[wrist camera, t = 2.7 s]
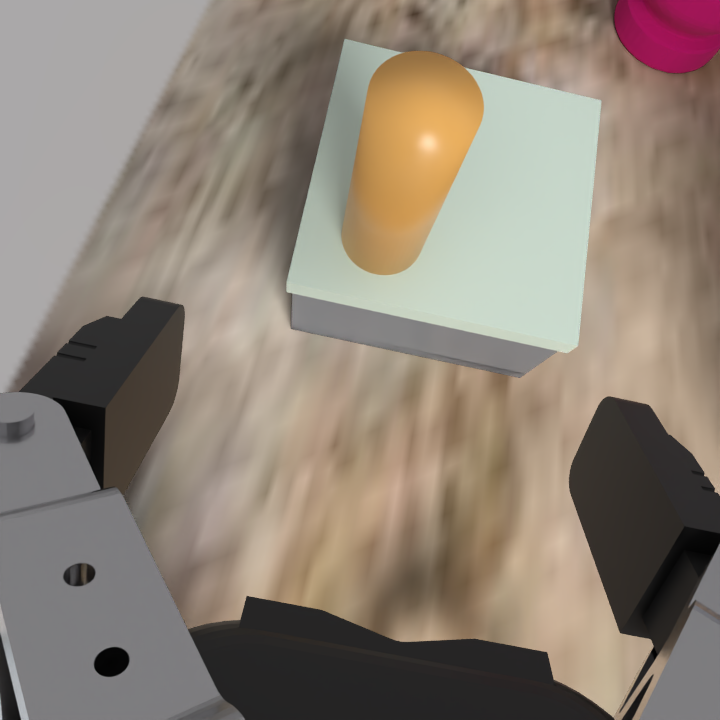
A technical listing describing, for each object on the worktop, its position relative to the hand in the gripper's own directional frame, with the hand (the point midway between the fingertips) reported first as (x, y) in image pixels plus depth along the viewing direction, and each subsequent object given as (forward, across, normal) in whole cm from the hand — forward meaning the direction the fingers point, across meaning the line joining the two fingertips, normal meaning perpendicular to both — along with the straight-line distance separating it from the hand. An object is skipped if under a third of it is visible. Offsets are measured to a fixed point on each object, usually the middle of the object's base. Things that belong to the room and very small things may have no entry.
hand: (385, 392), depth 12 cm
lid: (+18, -2, +1) cm, 18 cm away
